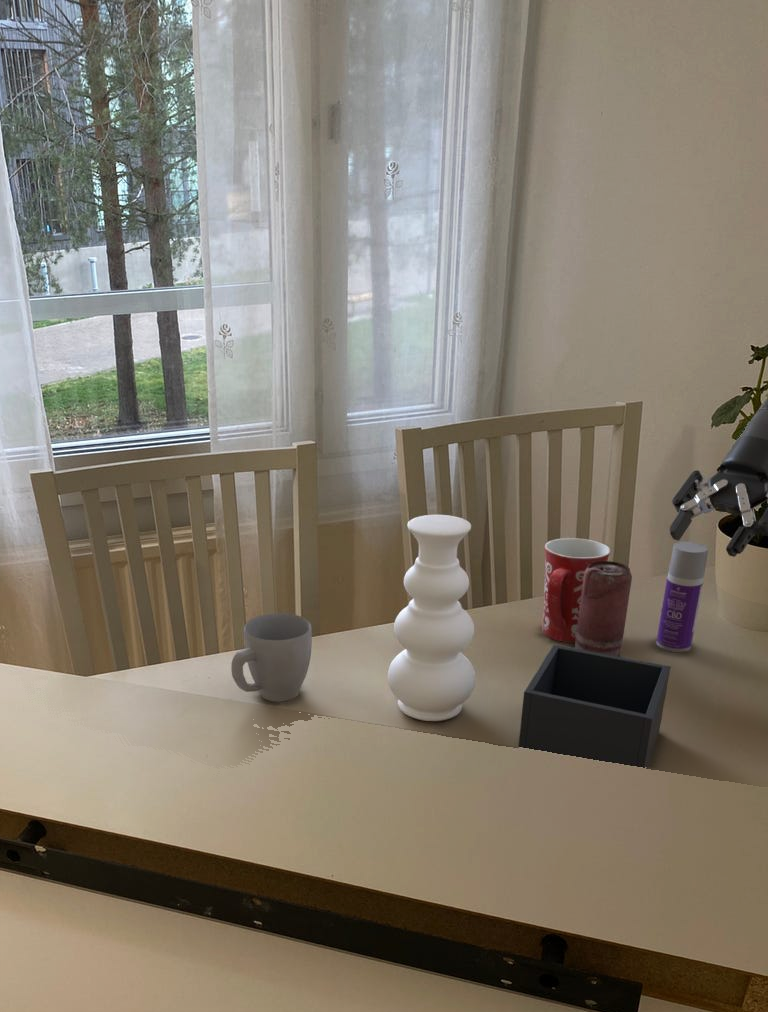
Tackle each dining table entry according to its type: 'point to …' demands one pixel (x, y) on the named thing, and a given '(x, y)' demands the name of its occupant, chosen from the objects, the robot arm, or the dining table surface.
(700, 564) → the container
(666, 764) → the dining table surface
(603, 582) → the can
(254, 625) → the mug
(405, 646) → the vase
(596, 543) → the mug
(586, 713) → the bin
